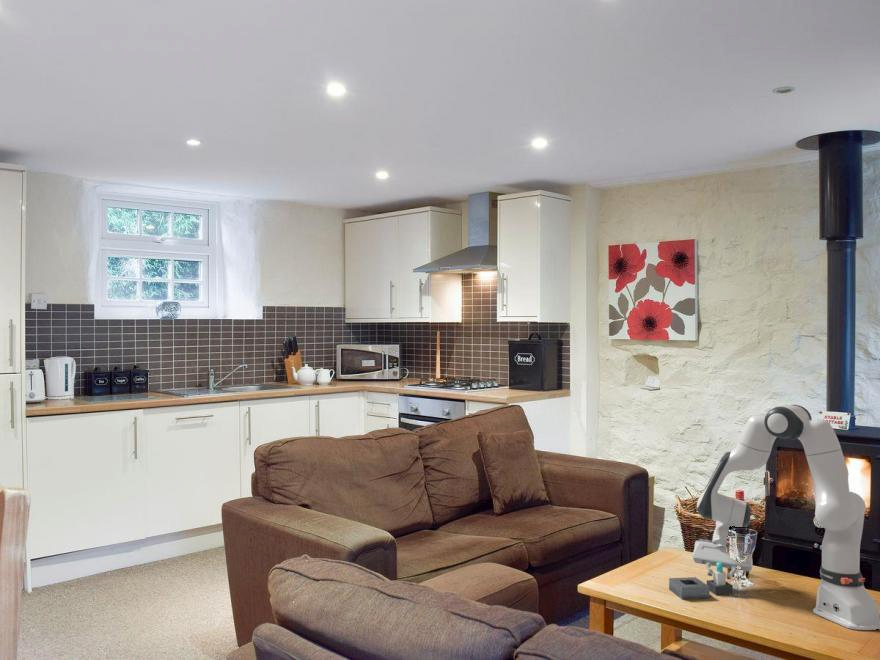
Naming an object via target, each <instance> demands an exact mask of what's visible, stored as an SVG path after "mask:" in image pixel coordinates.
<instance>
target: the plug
mask: <svg viewBox="0 0 880 660" xmlns="http://www.w3.org/2000/svg"><path fill="white" fill-rule="evenodd" d="M723 568H724V567H723V563H720V562H717V566H716V570H713V574H712V578H713V579H712V580H713V583H714V584H716V585H726V582H727V572H725V571H723V570H724V569H723Z"/></svg>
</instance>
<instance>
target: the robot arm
mask: <svg viewBox="0 0 880 660" xmlns="http://www.w3.org/2000/svg"><path fill="white" fill-rule="evenodd" d="M811 415H812V414H811V413H810V412H809V410H807V409H806V407H804V406H800V405H798V404H784V405H783V404H782V405H779V406H776V407H774V408H773V407H772V408H771V409H770V410H769V411H768V412H767V413H766V414H765V415H762V414H755V415H752V416H750V417H749V418H748V419H747V421H746V422H745V424H744V426H743V429H742V431H741V433H740V436H739V439H738V442H737V444H736V446H735V447H734V448H733V449H732V450H731V451H726V452H725V453H724V454H723V456H722V457H721V459H720V461H719V462H718V464H717V465H716V468H715V470H714V471H713V473H712V475H711V476H710V478H709V480H708V482H707V484H706V486H705V487H704V489H703V491H702V493H701V494H700V495H699V497H698V499H697V501H696V510H697V513H698V514H699V516H701V518H703V519H708V520H713V521H715V529H714V530H713V534H712V539H711V540H710V539H703V538H700V539H697V540H695V542H694V545H693V546H694V547H693V548H694V549H693V552H692V554H691V555H692V556H691V557H692V560H693V562H694V563H695V564H700V565H705V566H706V570H707V576H709V577H713V575H714V569H711V567H713V566H714V567H717V562H720V563H723V568H725V569H730V571H727V572H726V580H732V578H733V576H734V575H735V574H736V572H737V571H744V572H751V571H752V570H753V555H752V553H751V554H750V556H751V558H750V556H749V558H748V560H747V559H746V561H745V562H741V563H740V562H736V561H735V560H733V559H732V558H730V556H729V552H728V550H727V552H726V544H727V540H726V538H727V536H728V532H729V527H730V526H731V527H732V526H735V527H746V528H748V527H749V526H750V522H751V517H752V516H751V515H752V508H751V507H750V504H749V503H748V502H746V501H744V500H740V499H738V498H734V497H731V496H727V495H724V494H720V493H718V492H719V489H720V488H721V486H722V484H723V483H724V481H725V479H726V477H727V476H728V475H729V474H730V473H731V474H732V473H733V472H742V471H743V472H744V471H754V470H757V469H760V468H762V467H764V466H765V465H766V464H767V463H768V460H769V458H770V456H771V452H772V449H773V446H774V443H775V441H776V439H777V438H779V439H787V440H788V439H789V440H799V441H800V442H801V445H802V446H803V449H804V453H805V454H804V455H805V457H806V460H807V464H808V468H809V471H810V475H811V479H812V484H813V495H814V504H815V511H814V516H815V519H816V521H817V523H818V524H819V525H820V526H821V527H822V528H824V531H825V532H824V534H823V535H824V536H823V539H822V542H821V565H820V569H819V577H820V579H821V580H820V583H819V585H818V587H817V592H816V593H817V594H816V602H815V607H814V608H813V609H812V612H813V613H814V614H815V615H817V616H820V617H822V618H825V619H826V620H829V621H831V622H833V623H836V624H838V625H840V626H842V627H844V628H847V629H850V630H857V631H872V630H873V631H877V630H876V629H879V630H880V608H879V605H878V602H877V599H874V598H873V596H872V595H871V594H870V592H869V591H868V590H867V589H866V588H865V585H864V582H866V578H865V577H863V575H862V572H861V571H860V569H861V568H860V565H861V564H860V563H861V562H860V561H861V560H860V559H861V556H860V555H861V553H860V551H861V541H862V536H863V531H864V530H863V529H864V522H865V513H866V510H867V508H866V507H867V506H866V503H865V500H864V498H862V496H861V495H860V494H858V493H856V492H853V491H850V485H849V469H848V467H847V462H846V459H845V457H844V453H843V449H842V447H841V443H840V441H839V438H838V436H837V433H836V432H835V430H834V428H833V426H832V425H831V423H830V422H828V420H825V419H820V418H818V419H817V418H814V419H812V416H811ZM727 553H728V555H727ZM749 559H750V560H749ZM737 566H740V567H741V569H737V568H736V567H737Z"/></svg>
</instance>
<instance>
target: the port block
mask: <svg viewBox="0 0 880 660" xmlns="http://www.w3.org/2000/svg"><path fill="white" fill-rule="evenodd" d="M668 590H669V591H671V592H672V593H673V594H674V595H676V596H677V597H678V598H679V599H681V600H693V599H694V600H698V599H700V600H701V599H710V591H709V586H708V585H707V583H705V582H703V581H702V580H700V579H699V578H697V577H696V576H692V577H672V578H671V577H670V578H668Z"/></svg>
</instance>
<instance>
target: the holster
mask: <svg viewBox="0 0 880 660" xmlns="http://www.w3.org/2000/svg"><path fill="white" fill-rule="evenodd" d="M706 585H708V586H709V592H711V593H712V594H714V595H715V596H721V595H723V596H724V595H733V594H734V593H733V590H734V589H733V588H734V585H732V584H731V583H729V582H728V581H726V585H716V584H714V583H713V579H712V580H711V579H710V580H707V579H706Z"/></svg>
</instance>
